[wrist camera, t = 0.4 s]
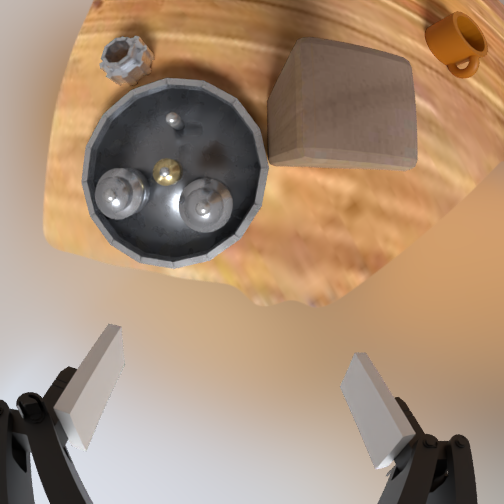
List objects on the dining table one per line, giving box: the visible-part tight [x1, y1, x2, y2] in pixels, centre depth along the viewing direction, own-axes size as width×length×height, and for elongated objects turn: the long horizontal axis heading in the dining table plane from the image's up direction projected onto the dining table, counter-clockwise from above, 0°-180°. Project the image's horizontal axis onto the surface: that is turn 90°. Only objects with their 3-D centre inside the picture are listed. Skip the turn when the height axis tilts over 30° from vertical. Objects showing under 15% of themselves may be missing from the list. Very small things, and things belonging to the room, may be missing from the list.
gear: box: [100, 36, 155, 86], centre depth 28 cm, size 7×7×6 cm
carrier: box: [82, 78, 269, 269], centre depth 32 cm, size 25×25×8 cm
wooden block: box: [267, 37, 417, 171], centre depth 26 cm, size 10×10×20 cm
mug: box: [425, 11, 488, 78], centre depth 27 cm, size 9×12×9 cm
